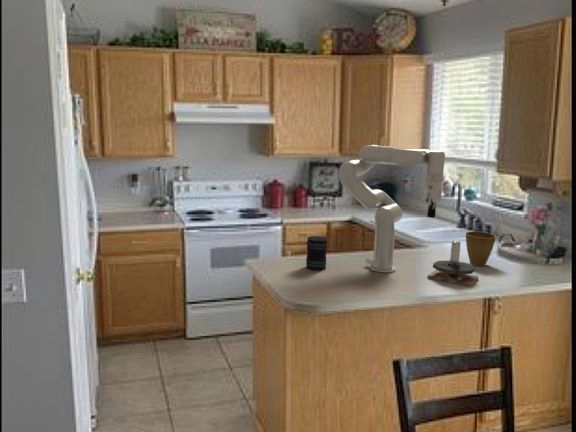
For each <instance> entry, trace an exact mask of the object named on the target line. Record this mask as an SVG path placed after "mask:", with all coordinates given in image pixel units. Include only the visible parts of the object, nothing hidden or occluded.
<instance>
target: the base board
mask: <svg viewBox="0 0 576 432" xmlns="http://www.w3.org/2000/svg"><path fill="white" fill-rule="evenodd" d="M426 278H427V279H429V280H435V281H439V282H444V283H451V284H456V285H461V286H465V287H472V286H473V285H474V284H475V283H476V282H477V281H478V280H479V276H478V275H472V274H458V276H457V277H451V276H449V273H445V272H441V271H438V270H436V269H434V270H433V271H432V272H430V273H429V274H427V277H426Z"/></svg>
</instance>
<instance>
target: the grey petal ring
mask: <svg viewBox="0 0 576 432" xmlns="http://www.w3.org/2000/svg"><path fill="white" fill-rule="evenodd" d="M432 268H433V269H434V270H438V271H441V272H445V273H450V274H457V275H458V274H468V275H472V274H473V273H475V271H476V266H475V265H472V264H471V263H468V262H467V263H466V262H463V261H459V266H458V267H450V260H436V261H435V262H433V263H432Z"/></svg>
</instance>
